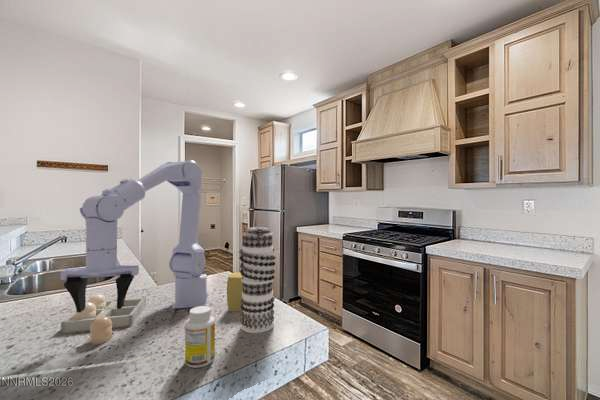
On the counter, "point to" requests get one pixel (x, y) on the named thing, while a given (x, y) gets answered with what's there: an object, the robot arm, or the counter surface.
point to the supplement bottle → (199, 337)
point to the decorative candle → (257, 280)
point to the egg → (101, 330)
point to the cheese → (234, 292)
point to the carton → (108, 315)
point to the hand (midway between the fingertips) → (101, 309)
